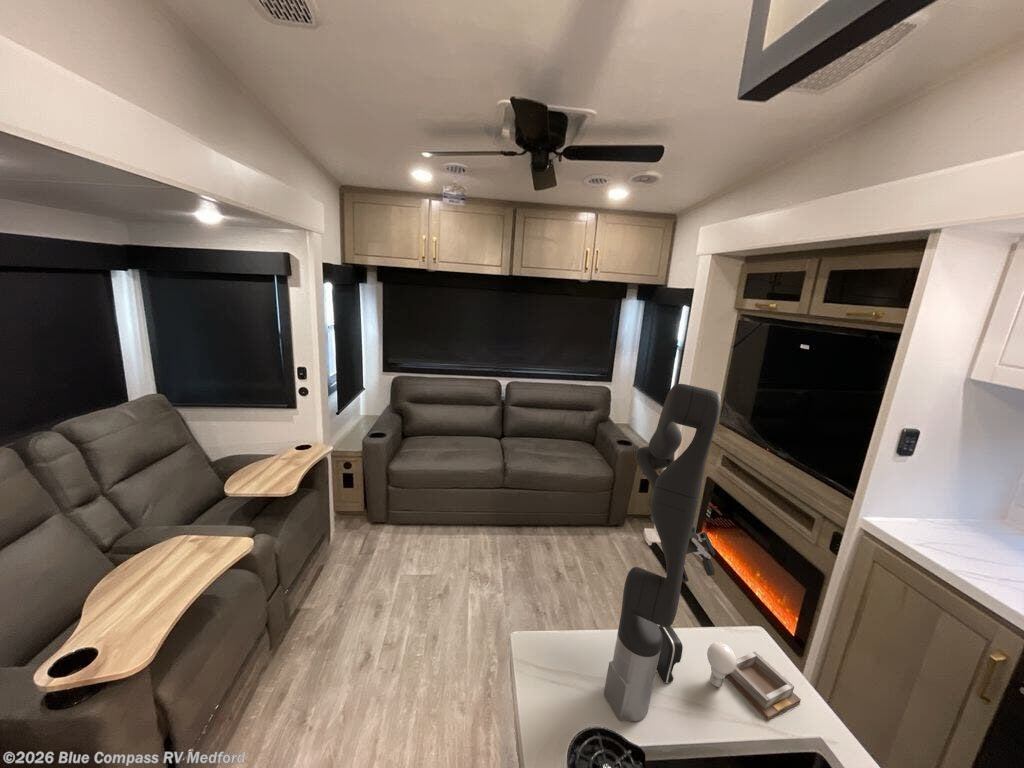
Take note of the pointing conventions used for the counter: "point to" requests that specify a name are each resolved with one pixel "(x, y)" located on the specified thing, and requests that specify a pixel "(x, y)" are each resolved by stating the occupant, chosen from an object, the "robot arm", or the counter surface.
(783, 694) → the socket board
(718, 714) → the counter surface
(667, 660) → the battery charger
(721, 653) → the lightbulb
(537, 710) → the counter surface
